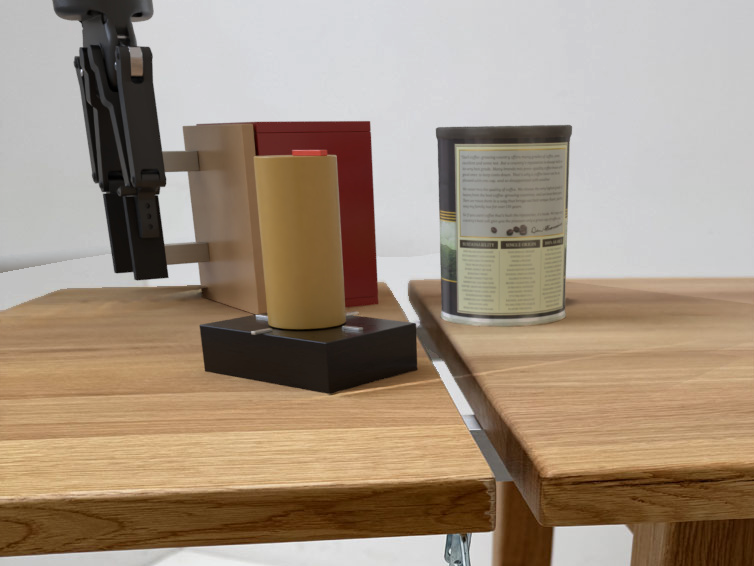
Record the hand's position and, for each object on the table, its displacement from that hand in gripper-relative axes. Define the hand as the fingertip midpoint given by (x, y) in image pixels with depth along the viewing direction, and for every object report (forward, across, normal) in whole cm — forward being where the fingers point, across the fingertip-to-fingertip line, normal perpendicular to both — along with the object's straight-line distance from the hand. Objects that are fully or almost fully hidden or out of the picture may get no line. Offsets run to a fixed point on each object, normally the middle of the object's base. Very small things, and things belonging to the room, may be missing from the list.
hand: (140, 274), depth 89 cm
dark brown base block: (+3, -33, 0) cm, 33 cm away
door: (+3, -4, -3) cm, 6 cm away
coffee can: (+3, -23, -22) cm, 32 cm away
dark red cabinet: (+3, -4, -12) cm, 13 cm away
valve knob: (0, -33, 0) cm, 33 cm away
